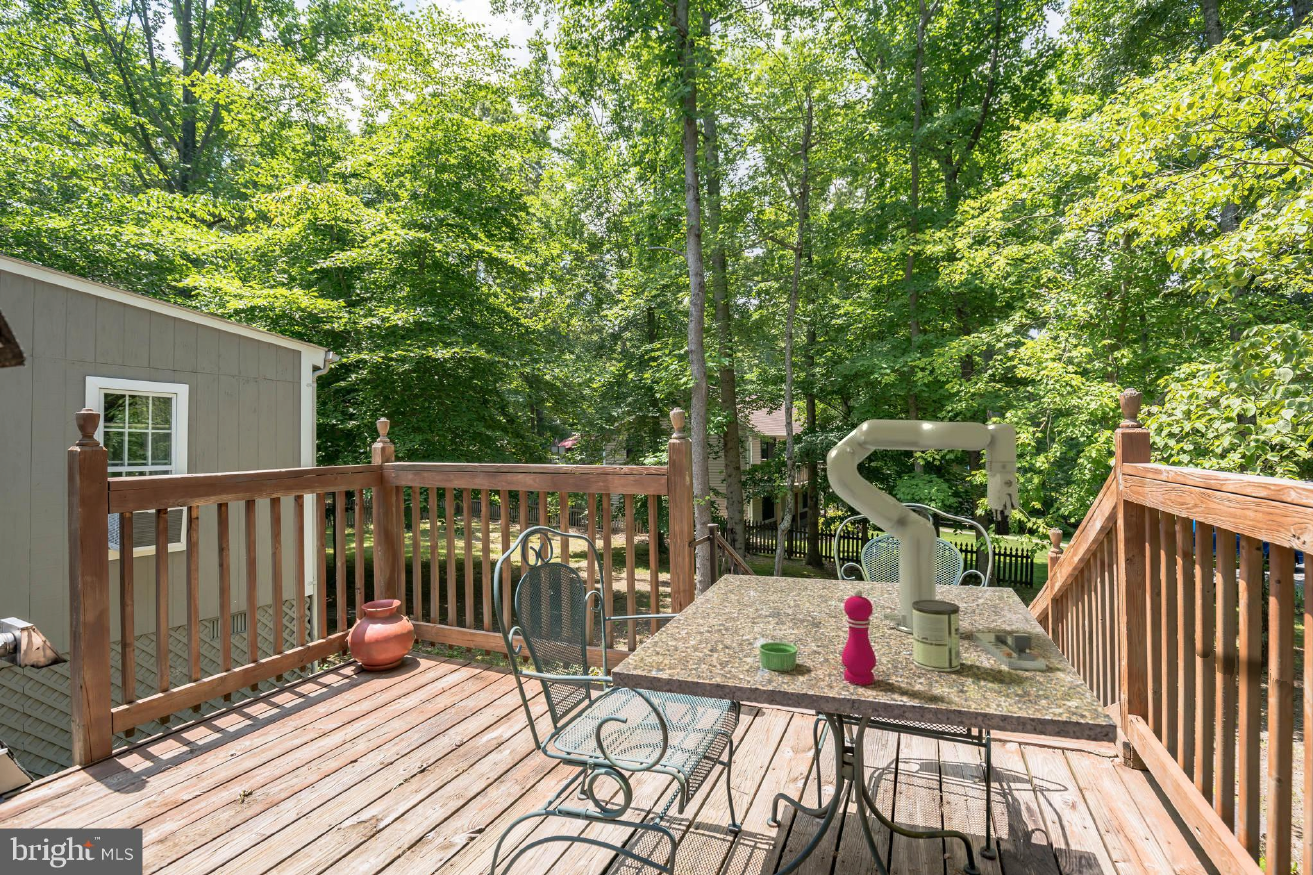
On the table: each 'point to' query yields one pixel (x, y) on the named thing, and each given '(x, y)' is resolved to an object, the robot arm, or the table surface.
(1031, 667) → the console
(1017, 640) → the fader tab
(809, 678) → the table surface
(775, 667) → the ramekin
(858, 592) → the pepper mill
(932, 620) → the coffee can
